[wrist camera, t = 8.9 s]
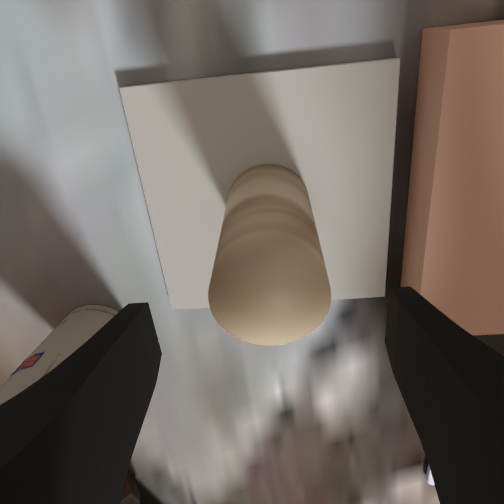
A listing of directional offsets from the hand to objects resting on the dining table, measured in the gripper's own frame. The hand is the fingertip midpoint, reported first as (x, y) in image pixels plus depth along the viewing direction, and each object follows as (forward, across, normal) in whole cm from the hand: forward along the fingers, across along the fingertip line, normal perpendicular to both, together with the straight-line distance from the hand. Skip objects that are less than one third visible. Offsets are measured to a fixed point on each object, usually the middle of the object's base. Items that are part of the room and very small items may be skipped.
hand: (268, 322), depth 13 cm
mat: (+10, 0, 0) cm, 10 cm away
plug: (+9, 0, 0) cm, 9 cm away
